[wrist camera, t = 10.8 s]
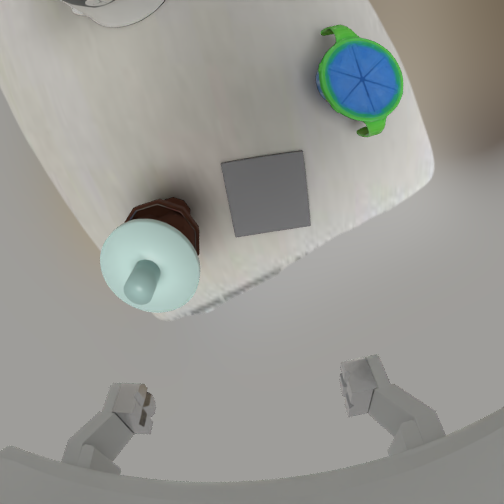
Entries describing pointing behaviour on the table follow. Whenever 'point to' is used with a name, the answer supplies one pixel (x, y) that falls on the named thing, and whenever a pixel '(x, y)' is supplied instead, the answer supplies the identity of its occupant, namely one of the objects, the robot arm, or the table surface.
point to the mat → (267, 193)
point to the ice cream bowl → (169, 217)
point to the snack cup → (359, 79)
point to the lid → (150, 265)
